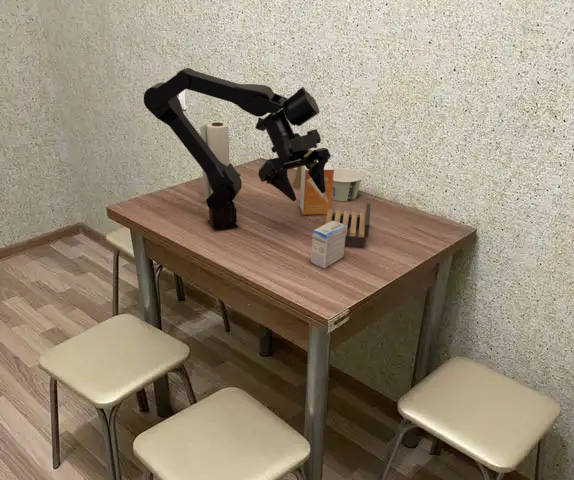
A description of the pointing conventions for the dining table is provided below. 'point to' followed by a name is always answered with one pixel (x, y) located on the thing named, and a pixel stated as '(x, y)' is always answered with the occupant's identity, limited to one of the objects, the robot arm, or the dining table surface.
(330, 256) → the medicine box
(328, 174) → the small box
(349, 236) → the rack
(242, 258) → the dining table surface
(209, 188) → the paper towel roll
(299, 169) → the brown pawn figure
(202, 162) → the robot arm
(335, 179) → the food container
